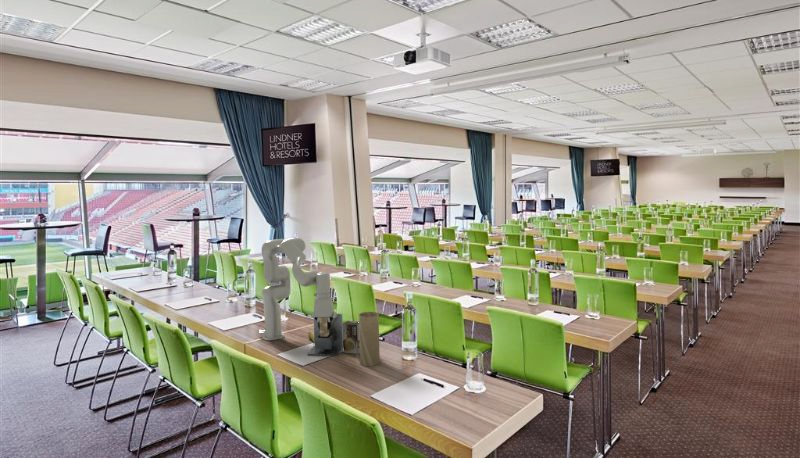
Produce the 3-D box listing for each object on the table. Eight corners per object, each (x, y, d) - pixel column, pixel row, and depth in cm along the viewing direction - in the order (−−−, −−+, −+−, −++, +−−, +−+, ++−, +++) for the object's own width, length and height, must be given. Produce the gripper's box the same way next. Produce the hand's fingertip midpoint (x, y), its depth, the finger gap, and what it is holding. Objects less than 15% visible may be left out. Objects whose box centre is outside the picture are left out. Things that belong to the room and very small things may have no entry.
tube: (366, 367, 237) (365, 318, 235) (356, 361, 245) (355, 314, 243) (383, 363, 243) (382, 314, 240) (372, 357, 251) (371, 310, 249)
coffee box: (362, 350, 262) (362, 321, 261) (358, 354, 256) (357, 324, 255) (347, 348, 265) (347, 320, 264) (342, 352, 259) (342, 323, 258)
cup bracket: (307, 355, 255) (306, 320, 254) (315, 345, 271) (314, 313, 269) (336, 356, 253) (335, 321, 252) (343, 346, 269) (342, 313, 268)
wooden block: (320, 336, 258) (319, 310, 256) (322, 334, 261) (321, 309, 260) (327, 336, 257) (326, 311, 256) (329, 334, 261) (328, 309, 260)
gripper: (306, 297, 255) (307, 330, 256) (337, 297, 253) (338, 331, 255) (310, 294, 262) (311, 326, 264) (340, 294, 261) (341, 327, 262)
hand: (324, 328), depth 259 cm, fingers closed on wooden block, 4 cm apart
